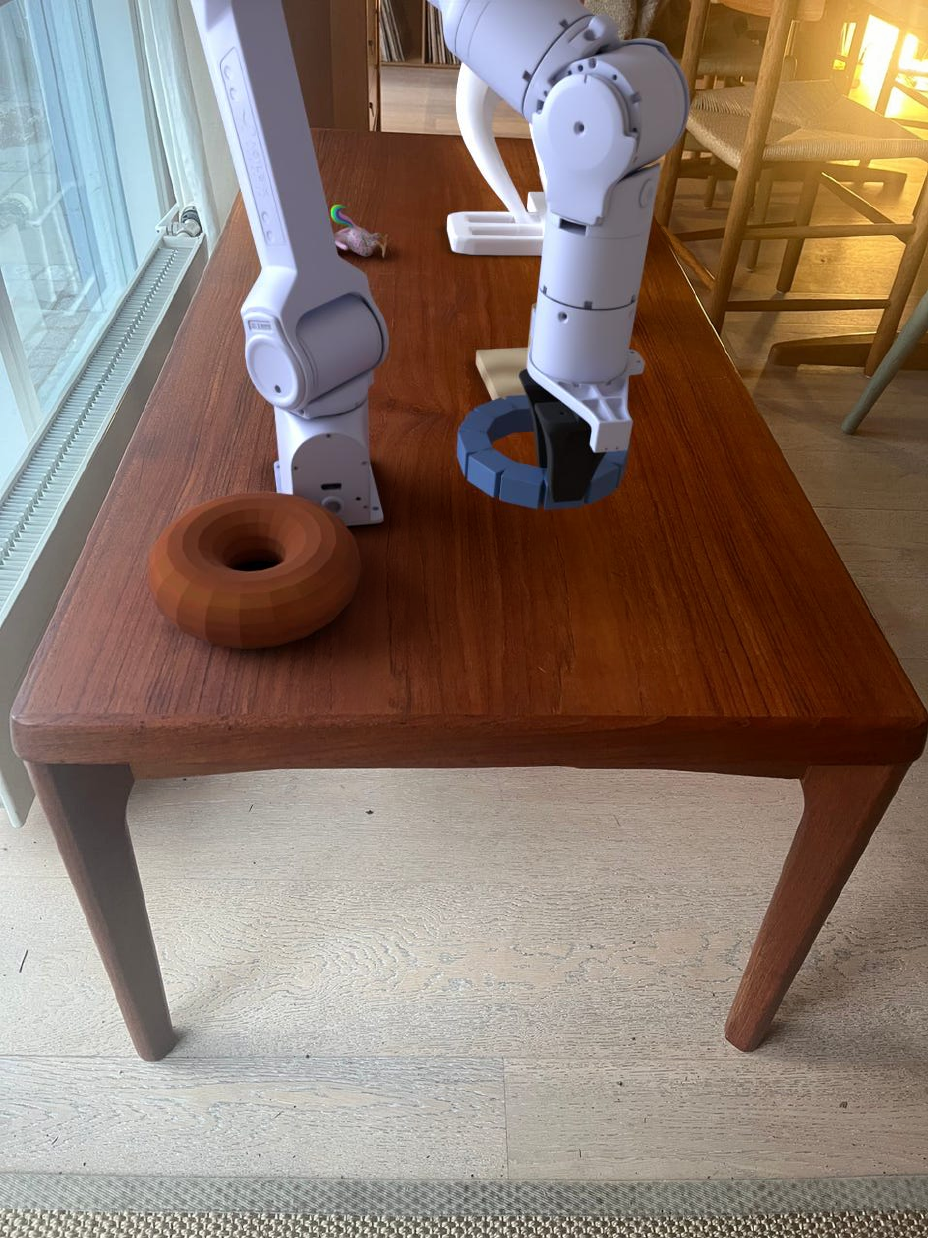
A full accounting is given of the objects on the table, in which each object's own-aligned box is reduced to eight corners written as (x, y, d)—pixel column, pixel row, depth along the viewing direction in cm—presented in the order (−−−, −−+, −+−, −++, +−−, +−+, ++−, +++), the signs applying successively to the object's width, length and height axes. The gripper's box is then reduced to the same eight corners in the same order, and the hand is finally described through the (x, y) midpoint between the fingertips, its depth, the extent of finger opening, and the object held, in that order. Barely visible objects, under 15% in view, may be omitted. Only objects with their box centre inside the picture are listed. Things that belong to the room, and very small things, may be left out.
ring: (646, 502, 66) (651, 477, 64) (477, 515, 64) (479, 490, 62) (595, 413, 74) (598, 389, 73) (444, 423, 72) (445, 398, 71)
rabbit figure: (384, 254, 121) (262, 229, 119) (392, 206, 117) (266, 179, 115) (382, 274, 116) (255, 249, 114) (390, 225, 112) (258, 197, 110)
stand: (600, 407, 92) (613, 328, 87) (498, 414, 91) (505, 333, 85) (570, 358, 100) (580, 282, 94) (475, 363, 98) (480, 286, 93)
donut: (390, 555, 74) (390, 501, 71) (313, 687, 64) (309, 631, 60) (213, 514, 77) (205, 460, 74) (111, 635, 66) (95, 578, 63)
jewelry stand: (581, 262, 118) (612, 26, 102) (454, 262, 117) (464, 22, 100) (547, 191, 137) (568, -18, 120) (436, 190, 135) (442, -23, 118)
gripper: (701, 344, 51) (654, 548, 60) (615, 238, 62) (586, 426, 71) (572, 350, 50) (544, 558, 59) (507, 241, 60) (492, 432, 69)
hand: (560, 487), depth 65 cm, fingers closed on ring, 2 cm apart
